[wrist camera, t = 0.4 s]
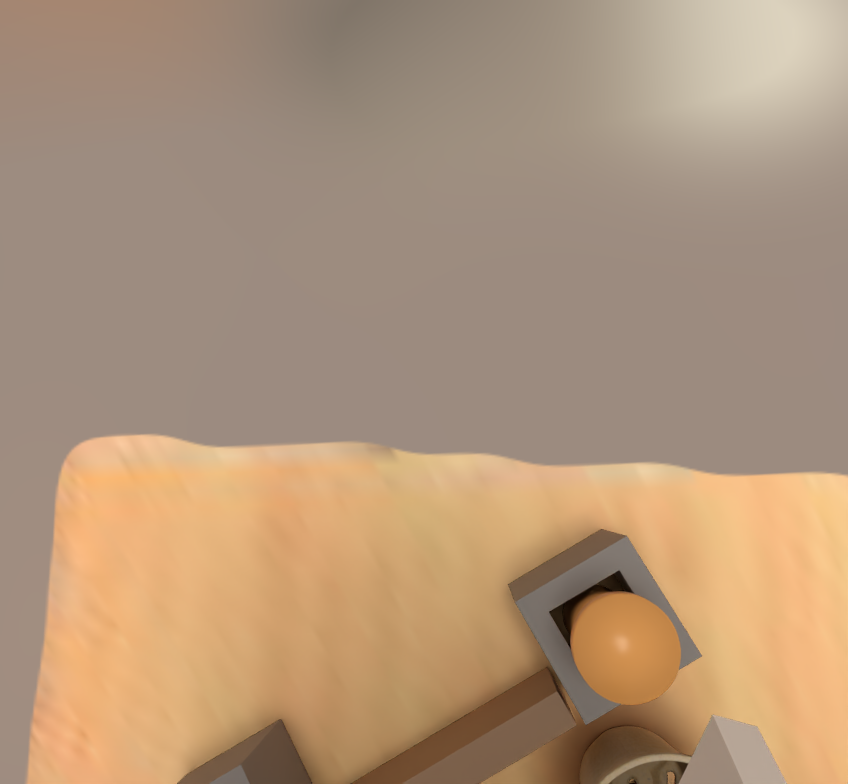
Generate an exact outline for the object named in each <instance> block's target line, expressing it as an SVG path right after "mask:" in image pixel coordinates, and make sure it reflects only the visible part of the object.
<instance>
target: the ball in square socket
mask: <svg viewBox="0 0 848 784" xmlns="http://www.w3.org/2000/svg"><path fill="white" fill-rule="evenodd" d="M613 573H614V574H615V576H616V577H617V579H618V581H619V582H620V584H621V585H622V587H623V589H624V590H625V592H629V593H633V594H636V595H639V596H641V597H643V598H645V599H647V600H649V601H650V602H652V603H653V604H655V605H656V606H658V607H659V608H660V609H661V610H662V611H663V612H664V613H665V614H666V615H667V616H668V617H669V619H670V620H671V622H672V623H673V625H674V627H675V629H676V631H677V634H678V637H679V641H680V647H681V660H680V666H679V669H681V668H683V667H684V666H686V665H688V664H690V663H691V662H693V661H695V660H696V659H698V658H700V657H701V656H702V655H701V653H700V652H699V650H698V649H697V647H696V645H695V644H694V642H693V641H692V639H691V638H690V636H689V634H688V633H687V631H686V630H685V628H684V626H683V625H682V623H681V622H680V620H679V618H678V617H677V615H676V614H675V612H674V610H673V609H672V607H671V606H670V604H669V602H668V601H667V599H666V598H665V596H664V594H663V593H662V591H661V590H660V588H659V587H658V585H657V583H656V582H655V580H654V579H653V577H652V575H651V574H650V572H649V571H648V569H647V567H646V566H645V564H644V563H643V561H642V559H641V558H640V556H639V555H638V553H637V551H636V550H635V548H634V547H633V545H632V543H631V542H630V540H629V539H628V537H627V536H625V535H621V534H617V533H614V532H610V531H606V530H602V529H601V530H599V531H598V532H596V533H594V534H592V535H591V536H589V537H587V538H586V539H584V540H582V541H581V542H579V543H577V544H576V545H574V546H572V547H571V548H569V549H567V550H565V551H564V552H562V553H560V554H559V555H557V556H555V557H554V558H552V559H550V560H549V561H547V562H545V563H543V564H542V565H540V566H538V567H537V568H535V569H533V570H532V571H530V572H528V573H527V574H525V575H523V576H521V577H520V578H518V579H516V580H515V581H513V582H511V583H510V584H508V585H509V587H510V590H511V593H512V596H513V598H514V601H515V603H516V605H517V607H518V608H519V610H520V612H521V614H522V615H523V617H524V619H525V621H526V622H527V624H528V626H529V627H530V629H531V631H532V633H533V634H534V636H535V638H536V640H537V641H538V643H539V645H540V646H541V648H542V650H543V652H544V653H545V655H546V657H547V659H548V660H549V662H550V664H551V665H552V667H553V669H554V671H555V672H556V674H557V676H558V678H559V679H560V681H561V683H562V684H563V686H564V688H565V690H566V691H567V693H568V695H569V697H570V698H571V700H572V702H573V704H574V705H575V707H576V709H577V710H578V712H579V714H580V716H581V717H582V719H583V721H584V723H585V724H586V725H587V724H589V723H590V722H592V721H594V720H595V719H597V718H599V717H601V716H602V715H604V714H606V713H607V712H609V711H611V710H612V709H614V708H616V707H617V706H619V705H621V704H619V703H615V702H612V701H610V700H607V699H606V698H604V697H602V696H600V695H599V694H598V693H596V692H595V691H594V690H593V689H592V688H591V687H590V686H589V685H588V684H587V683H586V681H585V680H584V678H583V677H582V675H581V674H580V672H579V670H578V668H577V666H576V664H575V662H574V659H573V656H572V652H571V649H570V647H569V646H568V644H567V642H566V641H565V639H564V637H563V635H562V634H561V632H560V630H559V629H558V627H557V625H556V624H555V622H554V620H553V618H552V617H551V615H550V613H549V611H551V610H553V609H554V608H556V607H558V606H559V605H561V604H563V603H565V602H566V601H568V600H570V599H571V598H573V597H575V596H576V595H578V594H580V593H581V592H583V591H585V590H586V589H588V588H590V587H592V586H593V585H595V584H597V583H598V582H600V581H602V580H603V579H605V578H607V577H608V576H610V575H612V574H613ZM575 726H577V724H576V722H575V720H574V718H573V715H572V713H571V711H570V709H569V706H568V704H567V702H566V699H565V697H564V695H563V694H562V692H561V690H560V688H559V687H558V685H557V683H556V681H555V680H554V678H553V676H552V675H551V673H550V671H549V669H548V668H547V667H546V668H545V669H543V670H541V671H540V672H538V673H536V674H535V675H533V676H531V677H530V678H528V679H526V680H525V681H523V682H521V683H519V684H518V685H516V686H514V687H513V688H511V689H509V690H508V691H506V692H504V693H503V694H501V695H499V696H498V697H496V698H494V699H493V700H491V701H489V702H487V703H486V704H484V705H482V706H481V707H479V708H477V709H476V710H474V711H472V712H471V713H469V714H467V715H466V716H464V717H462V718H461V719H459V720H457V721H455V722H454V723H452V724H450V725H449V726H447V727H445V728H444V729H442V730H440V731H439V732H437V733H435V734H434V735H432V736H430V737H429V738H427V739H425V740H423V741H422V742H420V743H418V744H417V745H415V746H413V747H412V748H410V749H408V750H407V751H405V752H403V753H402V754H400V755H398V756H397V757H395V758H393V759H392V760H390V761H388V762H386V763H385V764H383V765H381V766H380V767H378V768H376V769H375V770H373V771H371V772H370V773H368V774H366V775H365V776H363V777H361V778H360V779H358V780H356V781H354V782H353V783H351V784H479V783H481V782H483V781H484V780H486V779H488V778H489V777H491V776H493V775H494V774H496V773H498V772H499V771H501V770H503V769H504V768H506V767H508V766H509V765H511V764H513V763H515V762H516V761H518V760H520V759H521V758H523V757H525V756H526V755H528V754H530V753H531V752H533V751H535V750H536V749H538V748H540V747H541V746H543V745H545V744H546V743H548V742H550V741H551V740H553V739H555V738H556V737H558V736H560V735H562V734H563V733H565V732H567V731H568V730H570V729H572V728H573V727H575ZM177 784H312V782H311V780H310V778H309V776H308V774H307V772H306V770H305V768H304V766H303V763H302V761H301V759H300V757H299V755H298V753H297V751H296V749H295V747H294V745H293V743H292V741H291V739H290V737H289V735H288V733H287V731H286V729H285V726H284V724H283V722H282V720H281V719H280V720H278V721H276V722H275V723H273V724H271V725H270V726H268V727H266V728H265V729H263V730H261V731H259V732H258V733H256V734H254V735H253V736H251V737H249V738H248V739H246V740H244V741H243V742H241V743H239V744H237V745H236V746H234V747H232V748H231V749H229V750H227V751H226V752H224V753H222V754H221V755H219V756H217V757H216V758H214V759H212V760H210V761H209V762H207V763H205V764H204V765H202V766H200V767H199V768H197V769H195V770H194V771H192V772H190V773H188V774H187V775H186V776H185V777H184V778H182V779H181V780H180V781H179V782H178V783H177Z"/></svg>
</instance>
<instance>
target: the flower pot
mask: <svg viewBox="0 0 848 784" xmlns="http://www.w3.org/2000/svg"><path fill="white" fill-rule="evenodd" d="M691 757H692V756H689V755H685V754H681V753H680V752H678V751H677V750H676V749H674V748H673V747H672V746H671V745H669V744H668V743H667V742H666V741H665V740H664V739H662V738H661V737H660V736H658V735H657V734H655V733H653V732H651V731H649V730H647V729H644V728H640V727H635V726H621V727H616V728H612V729H609V730H607V731H605V732H604V733H602V734H601V735H600V736H599V737H598V738H597V739H596V740H595V741H594V742H593V743H592V744H591V745H590V746H589V748H588V749H587V750H586V752H585V754H584V756H583V759H582V762H581V767H580V775H579V780H580V784H629V781H630V780H631V779H634V780H635V781H636V783H637V784H667V782H668V778H667V776H668V775H667V772H670V771H671V772H674V774H675V776H676V781H675V784H679V782H680V780H681V778H682V776H683V774H684V772H685V770H686V768H687V766H688V764H689V762H690V759H691Z"/></svg>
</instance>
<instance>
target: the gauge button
mask: <svg viewBox="0 0 848 784" xmlns="http://www.w3.org/2000/svg"><path fill="white" fill-rule="evenodd" d="M563 619H564V624H565V627H566V629H567V631H568V633H569V634H570V636H571V639H570V644H571V652H572V656H573V659H574V662H575V664H576V666H577V668H578V670H579V672H580V674H581V675H582V677H583V678H584V680H585V681H586V683H587V684H588V685H589V686H590V687H591V688H592V689H593V690H594V691H595V692H596V693H598V694H599V695H600V696H602V697H604V698H606V699H607V700H610V701H612V702H615V703H619V704H624V705H638V704H643V703H646V702H649V701H652V700H654V699H656V698H657V697H659V696H660V695H662V694H663V693H664V692H665V691H666V690H667V689H668V688H669V687H670V685H671V684H672V683H673V681H674V679H675V677H676V675H677V673H678V670H679V666H680V660H681V647H680V641H679V637H678V634H677V631H676V629H675V627H674V625H673V623H672V622H671V620H670V619H669V617H668V616H667V615H666V614H665V613H664V612H663V611H662V610H661V609H660V608H659V607H658V606H656V605H655V604H653V603H652V602H650V601H649V600H647V599H645V598H643V597H641V596H639V595H636V594H633V593H629V592H622V591H615V592H613V591H612V590H610V589H609V588H607V587H605V586H602V585H597V584H595V585H593V586H592V587H590V588H588V589H586V590H585V591H583V592H581V593H580V594H578V595H576V596H575V597H573V598H571V599H570V600H568V601H566V603H565V606H564V611H563Z"/></svg>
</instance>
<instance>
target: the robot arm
mask: <svg viewBox="0 0 848 784" xmlns="http://www.w3.org/2000/svg"><path fill="white" fill-rule="evenodd" d="M679 784H787V783H786V781H785V779H784V777H783V775H782V773H781V771H780V770H779V768H778V766H777V764H776V762H775V760H774V758H773V756H772V754H771V752H770V750H769V748H768V746H767V745H766V743H765V741H764V739H763V737H762V735H761V733H760V731H759V729H758V727H756V726H753V725H749V724H745V723H742V722H738V721H734V720H731V719H727V718H723V717H720V716H716V715H712V717H711V719H710V721H709V723H708V725H707V727H706V729H705V731H704V733H703V735H702V737H701V739H700V741H699V743H698V745H697V747H696V749H695V751H694V753H693V755H692V757H691V759H690V762H689V764H688V766H687V768H686V770H685V772H684V774H683V776H682V778H681V780H680V782H679Z"/></svg>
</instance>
